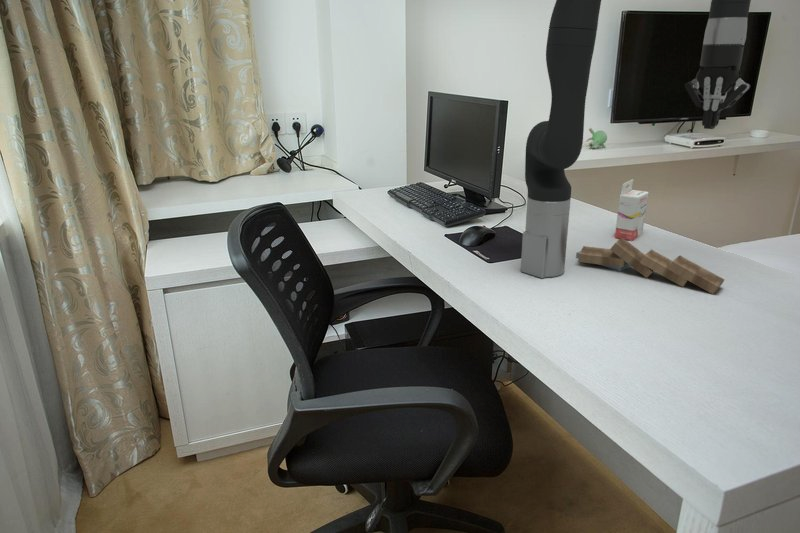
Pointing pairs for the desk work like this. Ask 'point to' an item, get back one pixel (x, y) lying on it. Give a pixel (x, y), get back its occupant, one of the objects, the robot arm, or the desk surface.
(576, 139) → the robot arm
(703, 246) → the desk surface
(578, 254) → the end tile
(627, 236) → the ink cartridge box
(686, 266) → the tile
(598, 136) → the frog
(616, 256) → the tile
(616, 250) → the tile
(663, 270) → the tile
